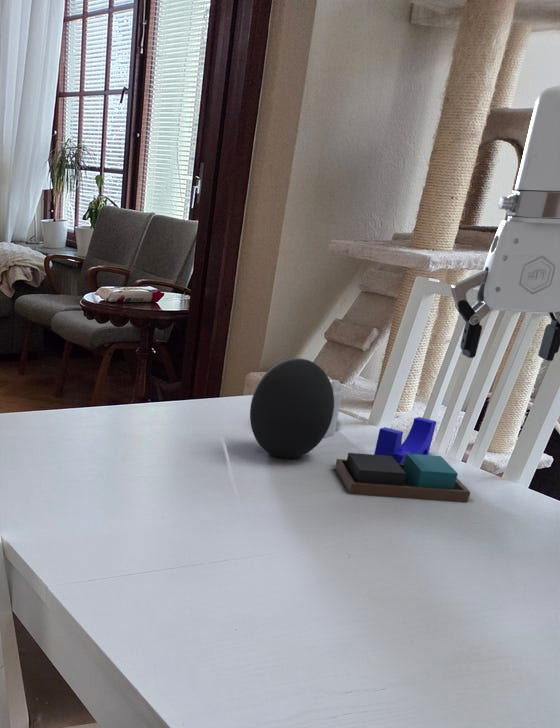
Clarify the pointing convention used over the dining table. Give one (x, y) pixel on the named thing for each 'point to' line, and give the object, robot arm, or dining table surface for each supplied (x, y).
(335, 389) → the lumpy-topped squat cylinder
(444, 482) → the teal rectangular block
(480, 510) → the dining table surface
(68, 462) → the dining table surface
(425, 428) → the blue curved cradle
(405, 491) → the frame
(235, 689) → the dining table surface
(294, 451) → the decorative egg
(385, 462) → the back pad
